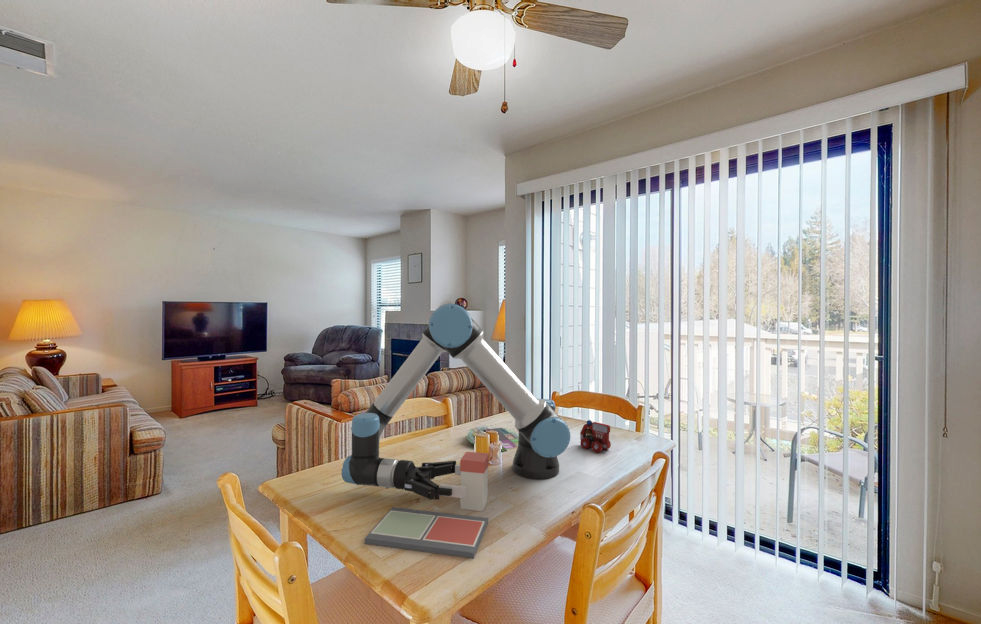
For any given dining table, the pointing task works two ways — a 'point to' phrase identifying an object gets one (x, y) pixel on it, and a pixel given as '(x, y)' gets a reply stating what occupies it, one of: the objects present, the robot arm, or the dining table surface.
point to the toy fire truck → (595, 436)
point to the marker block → (474, 480)
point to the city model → (505, 435)
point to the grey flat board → (429, 532)
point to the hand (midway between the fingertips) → (471, 481)
